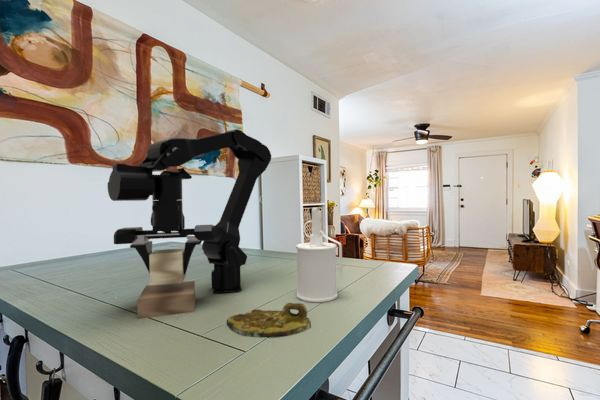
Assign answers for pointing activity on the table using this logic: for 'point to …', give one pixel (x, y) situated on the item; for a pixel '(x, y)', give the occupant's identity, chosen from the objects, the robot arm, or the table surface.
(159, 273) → the maple cube
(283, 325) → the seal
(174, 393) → the table surface
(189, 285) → the walnut block
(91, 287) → the table surface
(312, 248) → the white cylinder with spout
